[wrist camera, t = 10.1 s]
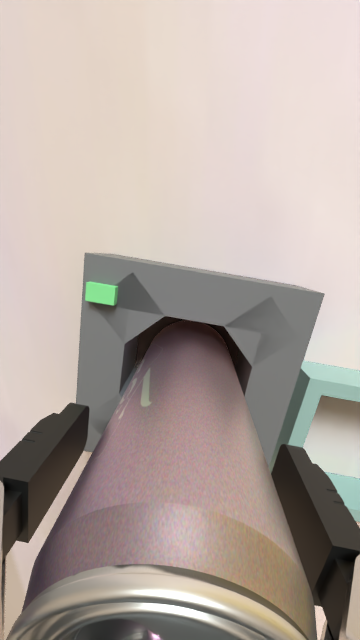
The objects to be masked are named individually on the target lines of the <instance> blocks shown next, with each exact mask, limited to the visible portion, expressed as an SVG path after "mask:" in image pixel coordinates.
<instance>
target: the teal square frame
mask: <svg viewBox="0 0 360 640" xmlns="http://www.w3.org/2000/svg"><path fill="white" fill-rule="evenodd" d="M321 395H324V396H329V397H335V398H340V399H346V400H351V401H357V402H360V371H358V370H352V369H347V368H341V367H336V366H330V365H324V364H319V363H313V362H307V361H303V362H302V366H301V369H300V372H299V375H298V378H297V381H296V384H295V387H294V390H293V393H292V397H291V400H290V403H289V406H288V409H287V412H286V415H285V418H284V421H283V425H282V428H281V431H280V434H279V437H278V440H277V443H276V446H275V449H274V452H273V456H272V459H271V462H270V465H269V470H270V473H272V470H273V467H274V464H275V460H276V457H277V454H278V451H279V448H280V446H281V445H282V444H287V445H292V446H298V447H302V448H303V445H304V442H305V439H306V437H307V434H308V431H309V428H310V425H311V423H312V420H313V417H314V414H315V411H316V409H317V406H318V403H319V400H320V398H321ZM325 473H326V472H325ZM326 474H327V475H328V476H329V478H330V479H331V481H332V483H333V484H334V486H335V488H336V490H337V493H338V494H339V495H340V496H341V498H342V500H343V501H344V505H345V506H347V508H348V510H349V511H350V513H351V515H352V516H353V518H354V520H355V521H358V522H360V479H358V478H353V477H348V476H342V475H337V474H332V473H326Z"/></svg>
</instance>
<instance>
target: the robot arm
mask: <svg viewBox="0 0 360 640" xmlns="http://www.w3.org/2000/svg"><path fill="white" fill-rule="evenodd" d="M89 410H90V409H89V406H86V405H80V404H75V403H69V404H68V405H67V406H66V407H65V409H64V410H63V411H62V412H61V413H60V414H56V413H53V414H51V415H49V416H47V417H45V418H44V419H42V420H40V421H39V422H38V423H37V424H36V425H35V426H34V427H33V428H32V429H31V431H30V432H28V433H27V434H26V435H25V437H24V438H23V439H22V441H20V442H19V443H18V444H17V445H16V446H15V447H14V448H13V449H12V450H11V451H10V452H9V453H8V454H7V455H6V456H5V457H4V458H3V459H2V460H1V461H0V640H4V623H5V587H6V555H7V554H8V552H9V551H10V549H11V548H12V546H13V545H14V543H15V542H16V540H17V541H21V542H26V543H29V541H30V539H31V538H32V536H33V534H34V533H35V531H36V529H37V528H38V526H39V524H40V523H41V521H42V519H43V518H44V516H45V514H46V513H47V511H48V509H49V508H50V506H51V504H52V503H53V501H54V499H55V498H56V496H57V494H58V493H59V491H60V489H61V488H62V486H63V484H64V483H65V481H66V479H67V478H68V476H69V474H70V473H71V471H72V469H73V468H74V466H75V464H76V463H77V461H78V459H79V458H80V456H81V454H82V453H83V450H84V448H85V445H86V442H87V437H88V424H89ZM271 476H272V479H273V482H274V485H275V488H276V491H277V494H278V496H279V499H280V502H281V505H282V508H283V511H284V514H285V517H286V520H287V523H288V526H289V528H290V531H291V534H292V537H293V540H294V543H295V546H296V549H297V552H298V555H299V558H300V561H301V563H302V566H303V569H304V572H305V575H306V578H307V581H308V584H309V587H310V590H311V593H312V596H313V601H314V605H316V606H321V607H322V608H323V611H324V613H325V616H326V620H325V622H324V625H323V630H322V634H321V639H320V640H360V528H359V526H358V525H357V523H356V521H355V520H354V518H353V516H352V515H351V513H350V511H349V510H348V508H347V506H345V505H344V501H343V500H342V498H341V496H340V495H339V494H338V493H337V490H336V488H335V486H334V484H333V483H332V481H331V479H330V478H329V476H328V475H327V474H326V473H325V472H324V471H323V470H322V469H321V468H320V467H319V466H318V465H317V464H312V462H311V460H310V459H309V457H308V455H307V453H306V451H305V450H304V449H303V448H302V447H298V446H292V445H287V444H282V445H281V446H280V448H279V451H278V454H277V457H276V460H275V464H274V467H273V470H272V473H271Z"/></svg>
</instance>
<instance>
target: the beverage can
mask: <svg viewBox="0 0 360 640" xmlns="http://www.w3.org/2000/svg"><path fill="white" fill-rule="evenodd" d="M6 640H317V631H316V619H315V607H314V601H313V596H312V593H311V590H310V587H309V584H308V581H307V578H306V575H305V572H304V569H303V566H302V563H301V561H300V558H299V555H298V552H297V549H296V546H295V543H294V540H293V537H292V534H291V531H290V528H289V526H288V523H287V520H286V517H285V514H284V511H283V508H282V505H281V502H280V499H279V496H278V494H277V491H276V488H275V485H274V482H273V479H272V476H271V473H270V470H269V467H268V464H267V461H266V459H265V456H264V453H263V450H262V447H261V444H260V441H259V438H258V435H257V432H256V429H255V426H254V424H253V421H252V418H251V415H250V412H249V409H248V406H247V403H246V400H245V397H244V394H243V392H242V389H241V386H240V383H239V380H238V377H237V374H236V371H235V368H234V365H233V362H232V359H231V357H230V354H229V351H228V348H227V345H226V343H225V341H224V340H223V338H222V337H221V335H220V334H219V333H218V332H217V331H216V330H214V329H213V328H212V327H210V326H208V325H206V324H204V323H201V322H197V321H179V322H175V323H172V324H170V325H168V326H166V327H165V328H163V329H162V330H161V331H160V332H159V333H158V334H157V335H156V336H155V337H154V339H153V341H152V342H151V344H150V346H149V348H148V350H147V352H146V354H145V356H144V357H143V359H142V361H141V363H140V365H139V367H138V369H137V371H136V372H135V374H134V376H133V378H132V380H131V382H130V384H129V386H128V387H127V389H126V391H125V393H124V395H123V397H122V399H121V400H120V402H119V404H118V406H117V408H116V410H115V412H114V414H113V415H112V417H111V419H110V421H109V423H108V425H107V427H106V429H105V430H104V432H103V434H102V436H101V438H100V440H99V442H98V444H97V445H96V447H95V449H94V451H93V453H92V455H91V457H90V459H89V460H88V462H87V464H86V466H85V468H84V470H83V472H82V473H81V475H80V477H79V479H78V481H77V483H76V485H75V487H74V488H73V490H72V492H71V494H70V496H69V498H68V500H67V502H66V503H65V505H64V507H63V509H62V511H61V513H60V515H59V517H58V518H57V520H56V522H55V524H54V526H53V528H52V530H51V531H50V533H49V535H48V537H47V539H46V541H45V543H44V545H43V546H42V548H41V550H40V552H39V554H38V556H37V558H36V560H35V563H34V566H33V569H32V573H31V577H30V581H29V585H28V589H27V593H26V597H25V601H24V605H23V609H22V613H21V614H20V616H19V617H18V619H17V620H16V621H15V623H14V625H13V627H12V629H11V631H10V633H9V635H8V637H7V639H6Z"/></svg>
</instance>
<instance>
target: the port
mask: <svg viewBox="0 0 360 640" xmlns="http://www.w3.org/2000/svg"><path fill="white" fill-rule="evenodd" d="M323 297H324V293H320V292H317V291H313V290H310V289H306V288H303V287H299V286H296V285H290V284H284V283H278V282H273V281H267V280H261V279H255V278H249V277H243V276H237V275H231V274H226V273H220V272H214V271H208V270H202V269H196V268H190V267H185V266H179V265H173V264H167V263H161V262H155V261H149V260H144V259H138V258H132V257H126V256H120V255H114V254H103V253H85V258H84V275H83V292H82V309H81V326H80V343H79V360H78V378H77V395H76V404H80V405H86V406H89V409H90V410H89V424H88V437H87V442H86V445H85V448H84V450H83V451H88V452H93V451H94V449H95V447H96V445H97V444H98V442H99V440H100V438H101V436H102V434H103V432H104V430H105V429H106V427H107V425H108V423H109V421H110V419H111V417H112V415H113V414H114V412H115V410H116V408H117V406H118V404H119V402H120V400H121V399H122V397H123V395H124V393H125V391H126V389H127V387H128V386H129V384H130V382H131V380H132V378H133V376H134V374H135V372H136V371H137V368H136V367H135V361H136V353H137V345H138V337H139V334H140V333H141V332H143V331H144V330H146V329H147V328H148V327H150V326H151V325H153V324H154V323H156V322H157V321H158V320H160V319H161V318H163V317H164V316H169V317H174V318H180V319H186V320H191V321H197V322H203V323H209V324H214V325H220V326H224V327H225V329H226V330H227V331H228V333H229V334H230V336H231V337H232V339H233V340H234V341H235V343H236V344H237V346H238V347H239V351H238V355H237V359H236V363H235V367H234V368H235V371H236V374H237V377H238V380H239V383H240V386H241V389H242V392H243V394H244V397H245V400H246V403H247V406H248V409H249V412H250V415H251V418H252V421H253V424H254V426H255V429H256V432H257V435H258V438H259V441H260V444H261V447H262V450H263V453H264V456H265V459H266V461H267V464H268V467H269V465H270V462H271V459H272V456H273V452H274V449H275V446H276V443H277V440H278V437H279V434H280V431H281V428H282V425H283V421H284V418H285V415H286V412H287V409H288V406H289V403H290V400H291V397H292V393H293V390H294V387H295V384H296V381H297V378H298V375H299V372H300V369H301V366H302V362H303V359H304V356H305V353H306V350H307V347H308V344H309V341H310V338H311V334H312V331H313V328H314V325H315V322H316V319H317V316H318V313H319V310H320V307H321V303H322V300H323Z"/></svg>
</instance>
